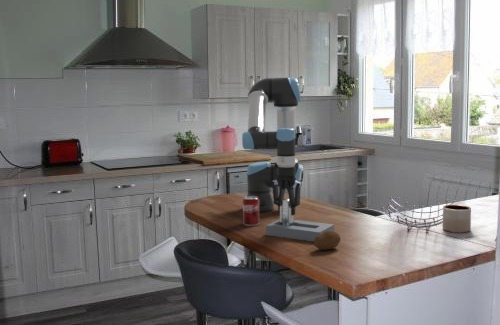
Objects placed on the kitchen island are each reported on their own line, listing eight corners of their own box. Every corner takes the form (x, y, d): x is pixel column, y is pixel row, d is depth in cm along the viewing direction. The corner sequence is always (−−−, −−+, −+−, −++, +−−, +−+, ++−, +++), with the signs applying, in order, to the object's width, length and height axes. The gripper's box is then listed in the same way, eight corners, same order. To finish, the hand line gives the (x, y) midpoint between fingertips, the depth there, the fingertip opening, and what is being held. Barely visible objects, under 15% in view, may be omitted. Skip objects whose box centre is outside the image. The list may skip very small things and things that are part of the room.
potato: (309, 250, 201) (308, 231, 200) (331, 244, 208) (331, 226, 207) (321, 254, 196) (321, 235, 195) (344, 248, 203) (344, 230, 202)
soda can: (257, 226, 238) (257, 199, 237) (241, 225, 240) (241, 199, 238) (260, 222, 245) (260, 196, 244) (245, 222, 247) (244, 195, 245)
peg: (285, 228, 229) (284, 198, 227) (292, 229, 227) (292, 199, 225) (281, 230, 226) (280, 200, 224) (288, 231, 224) (288, 200, 222)
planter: (469, 227, 229) (470, 205, 227) (471, 234, 219) (471, 210, 217) (442, 226, 232) (442, 203, 231) (442, 232, 222) (443, 209, 221)
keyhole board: (266, 235, 224) (265, 225, 223) (282, 227, 235) (282, 218, 235) (319, 242, 211) (319, 232, 211) (334, 234, 223) (334, 224, 222)
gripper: (263, 166, 224) (264, 221, 227) (300, 168, 215) (300, 226, 218) (272, 163, 230) (273, 218, 233) (308, 165, 221) (308, 222, 225)
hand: (286, 221), depth 226 cm, fingers closed on peg, 3 cm apart
